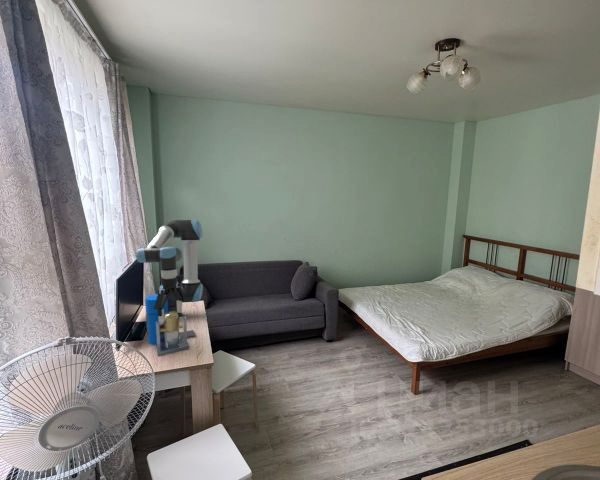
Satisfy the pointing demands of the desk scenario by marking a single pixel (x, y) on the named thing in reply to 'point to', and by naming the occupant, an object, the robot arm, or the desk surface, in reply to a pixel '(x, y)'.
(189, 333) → the rubber mat
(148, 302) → the thermos
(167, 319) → the brass cap
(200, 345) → the desk surface
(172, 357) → the desk surface
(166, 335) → the grey metal stand
